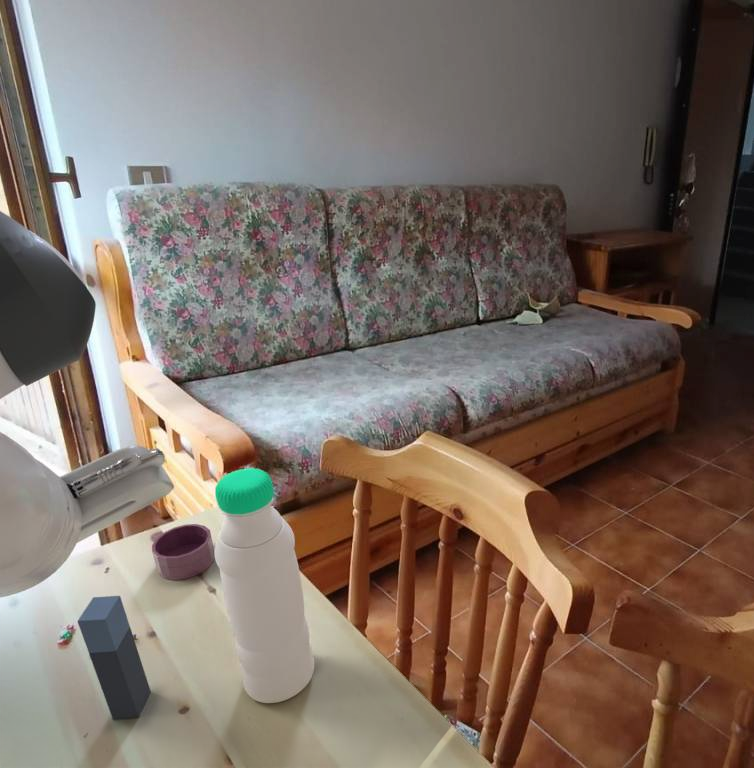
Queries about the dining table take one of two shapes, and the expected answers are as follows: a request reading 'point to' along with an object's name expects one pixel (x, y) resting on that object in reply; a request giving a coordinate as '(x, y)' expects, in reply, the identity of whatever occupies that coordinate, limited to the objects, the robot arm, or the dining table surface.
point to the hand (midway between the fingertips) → (49, 547)
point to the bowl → (183, 551)
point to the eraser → (115, 656)
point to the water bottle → (262, 588)
